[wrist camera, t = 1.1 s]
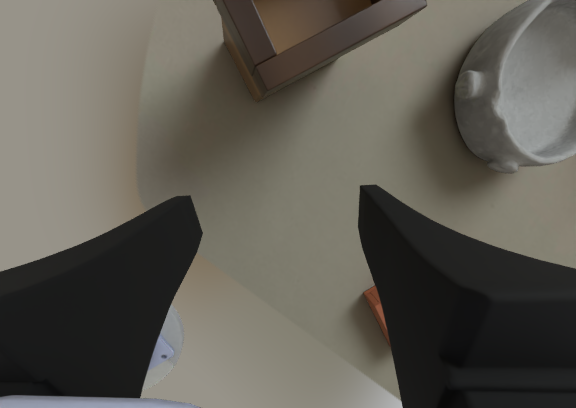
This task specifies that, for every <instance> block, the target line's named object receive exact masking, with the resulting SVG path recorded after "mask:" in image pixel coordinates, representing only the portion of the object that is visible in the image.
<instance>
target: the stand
mask: <svg viewBox="0 0 576 408" xmlns="http://www.w3.org/2000/svg"><path fill="white" fill-rule="evenodd" d="M253 2H254V4H255V6H256V9H257V11H258V13H259V15H260V17H261V19H262V22H263V24H264V26H265V28H266V30H267V33H268V35H269V37H270V39H271V41H272V43H273V46H274V48H275V50H276V52H277V55H278V54H279V53H281V52H283V51H285V50H287V49H289V48H291V47H293V46H295V45H297V44H298V43H300V42H302V41H304V40H306V39H308V38H310V37H312V36H314V35H316V34H317V33H319V32H321V31H323V30H325V29H327V28H329V27H331V26H333V25H334V24H336V23H338V22H340V21H342V20H344V19H346V18H348V17H350V16H352V15H353V14H355V13H357V12H359V11H361V10H363V9H365V8H367V7H369V6H371V5H372V4H371V1H370V0H253ZM221 18H222V17H221ZM222 28H223V37H224V42H225V44H226V46H227V48H228V50H229V52H230V54H231V56H232V58H233V60H234V62H235V64H236V66H237V68H238V70H239V72H240V74H241V75H242V77H243V79H244V81H245V83H246V85H247V87H248V89H249V91H250V93H251V95H252V97H253V99H254V101H255V102H258V101H260V100H261V99H263V98H262V97H261V95H260V93H259V91H258V89H257V87H256V85H255V83H254V81H253V79H252V76H251V75H250V73H249V71H248V69H247V67H246V65H245V63H244V61H243V59H242V57H241V55H240V53H239V51H238V49H237V47H236V45H235V43H234V41H233V39H232V37H231V35H230V33H229V31H228V29H227V27H226V25H225V23H224V21H223V19H222ZM337 59H338V58H337ZM335 60H336V59H335ZM333 61H334V60H333ZM330 63H331V62H330ZM328 64H329V63H328ZM326 65H327V64H326ZM324 66H325V65H324ZM322 67H323V66H322ZM320 68H321V67H320ZM318 69H319V68H318ZM315 71H316V70H315ZM313 72H314V71H313ZM311 73H312V72H311ZM309 74H310V73H309ZM307 75H308V74H307ZM305 76H306V75H305ZM302 78H303V77H302ZM300 79H301V78H300ZM298 80H299V79H298ZM296 81H297V80H296ZM294 82H295V81H294ZM292 83H293V82H292ZM290 84H291V83H290ZM287 86H288V85H287ZM285 87H286V86H285ZM283 88H284V87H283ZM281 89H282V88H281ZM279 90H280V89H279ZM277 91H278V90H277ZM275 92H276V91H275ZM275 92H274V93H275ZM272 94H273V93H272ZM270 95H271V94H270ZM268 96H269V95H268ZM266 97H267V96H266ZM264 98H265V97H264Z"/></svg>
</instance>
